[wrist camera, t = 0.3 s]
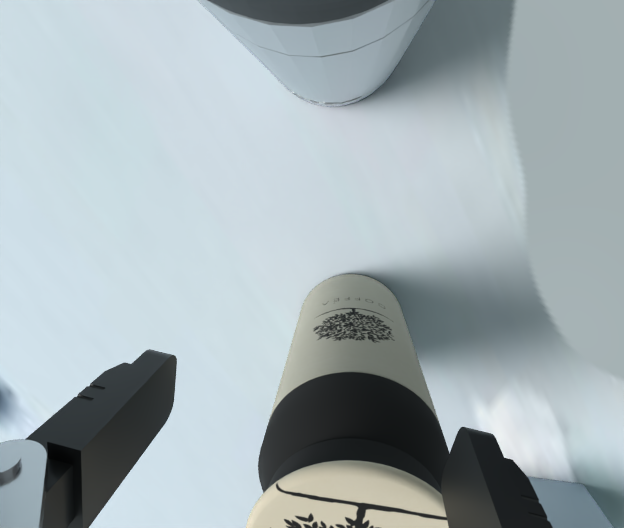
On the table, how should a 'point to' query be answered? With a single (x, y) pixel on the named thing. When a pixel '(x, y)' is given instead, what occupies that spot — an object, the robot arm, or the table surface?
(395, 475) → the travel mug
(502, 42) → the table surface
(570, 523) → the slate box
